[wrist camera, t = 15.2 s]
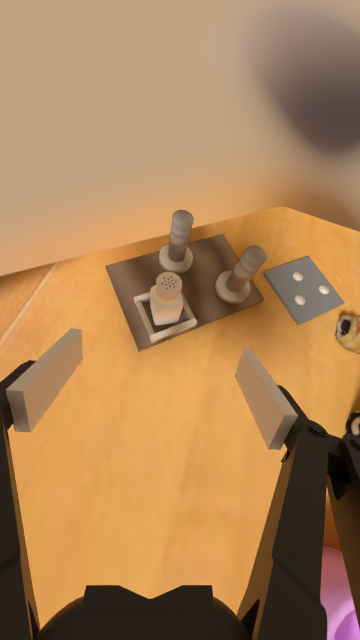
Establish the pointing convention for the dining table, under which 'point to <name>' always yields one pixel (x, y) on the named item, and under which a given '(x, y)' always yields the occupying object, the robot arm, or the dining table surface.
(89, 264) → the dining table surface
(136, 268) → the pin board
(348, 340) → the pastry
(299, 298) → the tile
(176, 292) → the pepper shaker
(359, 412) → the spotted tube
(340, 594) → the container set
